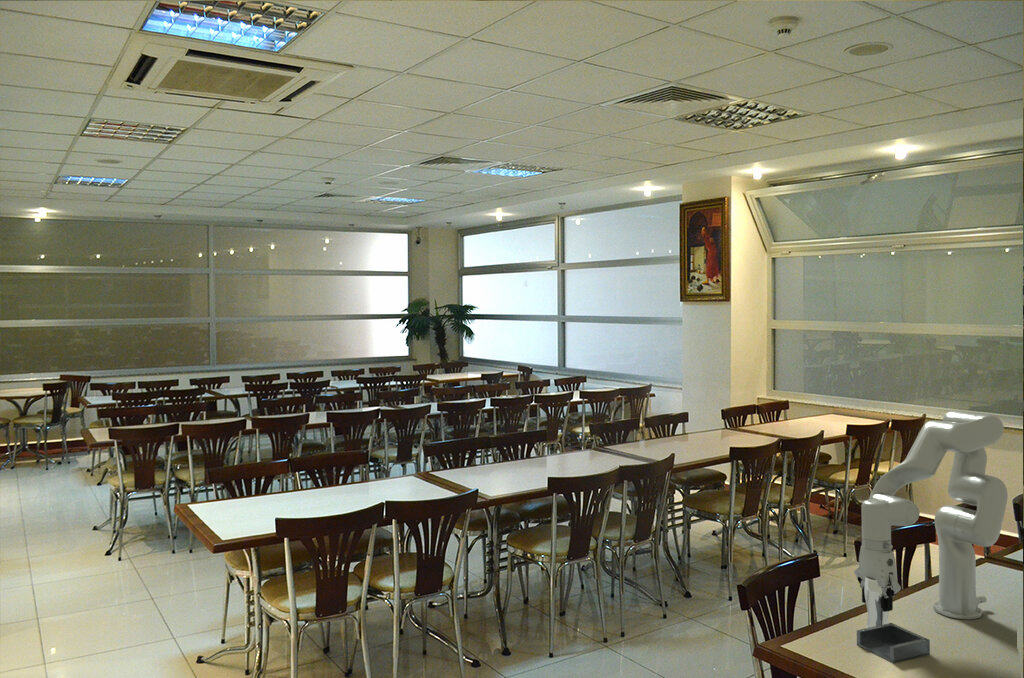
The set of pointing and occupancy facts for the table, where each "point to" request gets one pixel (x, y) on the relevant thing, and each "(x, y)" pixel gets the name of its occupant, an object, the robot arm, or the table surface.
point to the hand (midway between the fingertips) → (877, 605)
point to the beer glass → (874, 603)
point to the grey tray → (893, 642)
